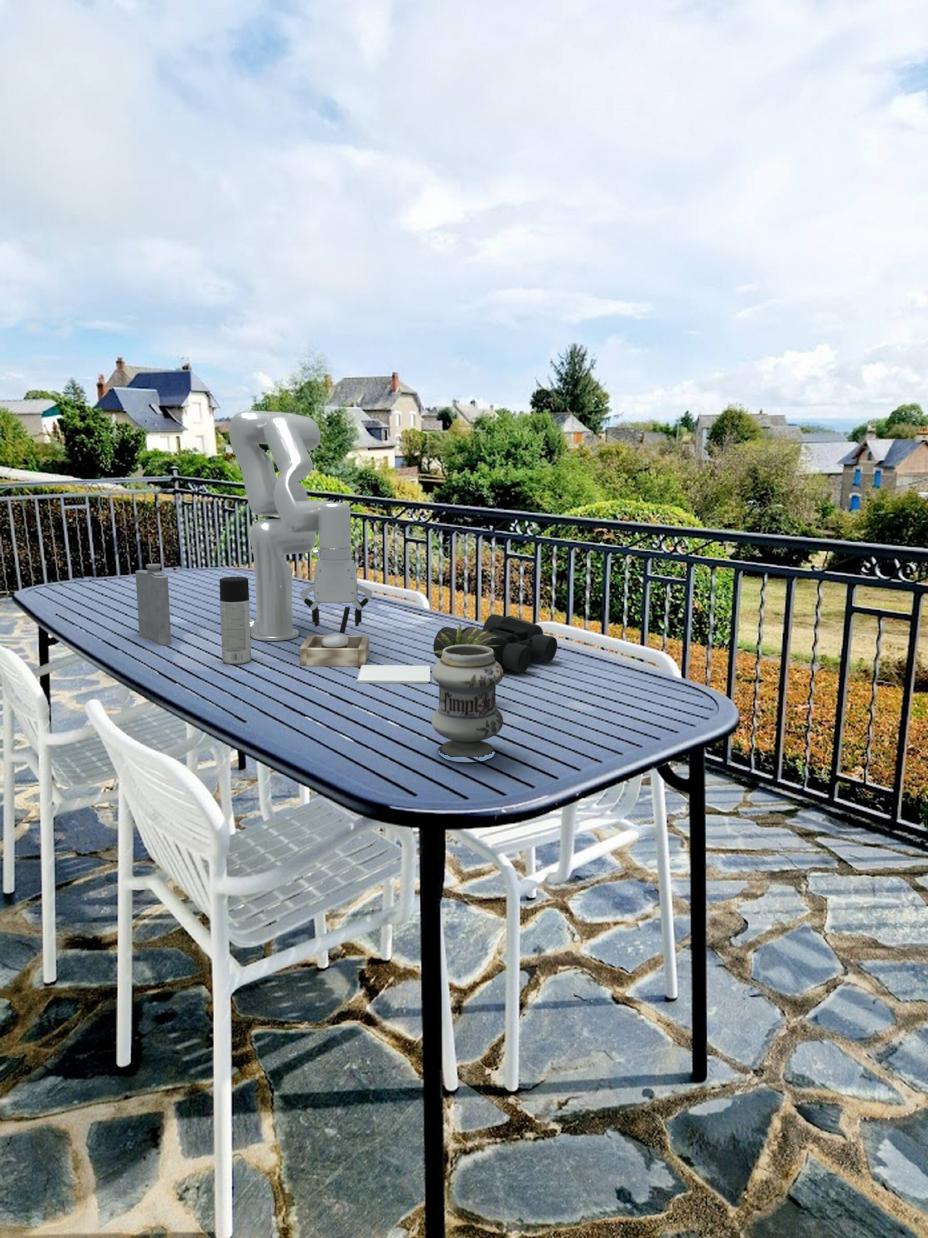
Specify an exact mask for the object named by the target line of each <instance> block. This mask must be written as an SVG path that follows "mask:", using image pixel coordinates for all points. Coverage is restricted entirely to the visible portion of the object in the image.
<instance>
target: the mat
mask: <svg viewBox="0 0 928 1238" xmlns="http://www.w3.org/2000/svg"><path fill="white" fill-rule="evenodd" d="M357 682H358V683H357ZM427 682H430V683H431V665H397V664H396V665H394V664H393V665H391V664H389V665H388V664H387V665H386V664H382V665H381V664H365V665H362V666H360V669H359V672H358V676H357V679H356V683H357V684H415V683H427Z"/></svg>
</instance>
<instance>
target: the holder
mask: <svg viewBox="0 0 928 1238" xmlns="http://www.w3.org/2000/svg"><path fill="white" fill-rule="evenodd" d="M328 635H329V634H326V635H325V634H316V635H308V636H307V637H306V638H305V640H304V642H303V643H302V644H301V646H300V648H299V665H300V666H307V667H361V666H362V665H367V664H366V663H367V661H368V656H369V654H370V636H369V635H368V636H366V635H365V636H364V635H347V634H345V635H346V636H347V637H348V644H347V648H322V639H323V638H324V637H326V636H328Z"/></svg>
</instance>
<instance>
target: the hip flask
mask: <svg viewBox="0 0 928 1238" xmlns="http://www.w3.org/2000/svg"><path fill="white" fill-rule="evenodd" d="M145 568H146V569H141V570H140V569H138V570H135V585H136V586H135V587H136V588H135V589H136V602H137V603H136V604H137V618H138V634H139V635H138V636H139V637H142V638H145V639H148V640H151V641H153V642H154V643H156V644H157V645H159V646H170V645H171V644H172V636H171V635H172V634H171V633H172V632H171V612H170V611H171V610H170V595H169V594H170V592H169V576H168V575H166V574H165V573H162V572H161V569H160V568H162V565H161V563H148V564H145Z"/></svg>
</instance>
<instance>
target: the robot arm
mask: <svg viewBox="0 0 928 1238" xmlns="http://www.w3.org/2000/svg"><path fill="white" fill-rule="evenodd" d="M228 431H229V441H230V446H231V447H232V450H233V453H234V456H235V457H236V460H237V462H238V464H239V467H240V470H241V474H242V479H243V484H244V488H245V489H244V490H245V493H246V497H247V498H246V499H247V502H248V506H249V508H250V510H251V512H252V513H253V514H254V515H256V516H262V517H263V516H264V517H268V516H269V517H270V516H271V517H272V516H275V517H278V516H279V518H269V519H262V520H259V521H256V522H255V523H254V524H253V525H252V526H251V528H250V532H249V539H250V541H249V542H250V546H251V548H252V549H251V550H252V554H253V555H252V556H253V562H254V563H253V564H254V580H255V581H254V583H255V614H256V616H255V617H256V618H255V620H252V621H250V630H252V631H250V637H251V638H253V639H255V640H257V641H258V640H259V641H265V642H267V641H268V642H278V641H279V642H280V641H286V640H287V641H288V640H292V639H296V638H298V637H299V630H297V629H296V628H293V627H294V624H293V623H294V622H293V621H294V620H293V618H294V617H293V579H292V577H293V576H292V575H293V574H292V570H291V567H290V565H289V564H288V562H287V561H286V559H285V558H284V556H287V555H294V554H296V555H298V554H305V553H309V552H311V551H312V550H313V549H314V548H315V545H316V541H317V537H316V536H317V535H316V533H318V548H317V549H314V550H313V551H312V555H313V556H315V557H317V558H318V559H319V560H318V559H317V560H316V561H315V566H314V578H313V579H314V580H313V584H312V585H310V586H308V587H306V588H305V589H302V590H301V591H300V592H299V595H300V597H301V599H302V600H303V603H304V604H305V605H306V606H307V607H308V608H309V610H311V622H312V624H314V627H315V628H316V627H319V625H320V609H319V607H318V606H319V605H320V604H352V605H353V606H354V607H355V609H354V626H355V627H359V625H360V623H362V617H363V616H362V609H363V608H364V607H365V606H366V605H367V604H368V603H369V601H370V599H371V598H372V595H373V593H374V592H373V590H371V589H369V588H368V587H366V586H363V585H362V584H360V583H358V575H357V569H356V564H355V560H354V559H352V536H351V535H352V533H351V532H352V528H351V527H352V526H351V525H352V524H351V508H350V505H349V504H348V503H345V502H333V501H331V500H309V497H308V493H307V491H306V489H305V487H304V485H302V483H300V481H302V480H304V479H305V478H307V477H308V476H309V475H310V474H311V473H312V471H313V468H314V462H313V461H312V459H311V456H310V454H309V452H308V451H314V450H315V449H317V448H318V447H319V445H320V443H321V432H320V428H319V425H318V424H317V423H316V421H315V420H314V419H313V418H312V417H309V416H304V415H300V414H295V413H291V412H283V411H282V412H281V411H267V410H244V411H240V412H237V413H236V414H233V416H232V418H231V420H230V423H229V430H228ZM260 445H267V447H268V449H269V451H270V453H271V456H272V458H273V460H274V463H275V464H274V463H273V461H272V459H271V458H270V456H269V455H268V454H267V452H265V450H263V448H261V447H260ZM274 465H276V467H277V470H278V472H279V476H278V477H277V475H276V472H275V466H274ZM312 592H313V598H314V601H312V599H310V598H309V595H308V594H310V593H312ZM359 592H360V593H363V594H364V596H365V597H364V598H363V599H362V600H361V601H360V600H359V598H358V596H359V595H358V594H359Z"/></svg>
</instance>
